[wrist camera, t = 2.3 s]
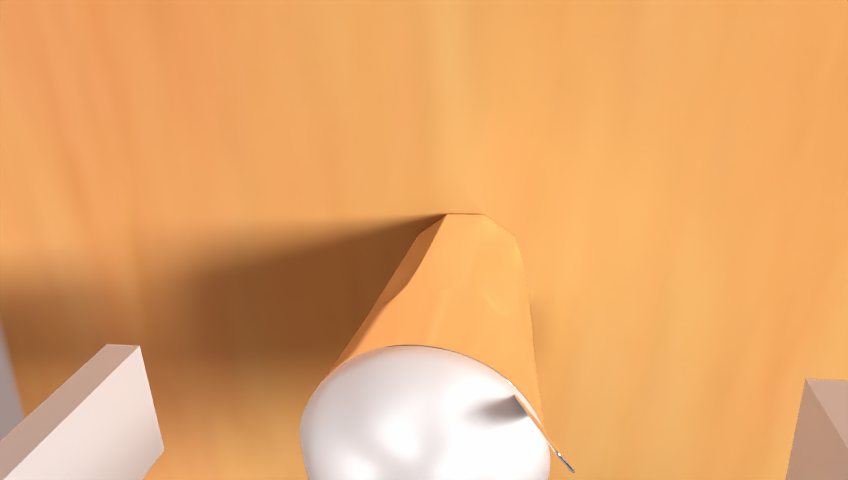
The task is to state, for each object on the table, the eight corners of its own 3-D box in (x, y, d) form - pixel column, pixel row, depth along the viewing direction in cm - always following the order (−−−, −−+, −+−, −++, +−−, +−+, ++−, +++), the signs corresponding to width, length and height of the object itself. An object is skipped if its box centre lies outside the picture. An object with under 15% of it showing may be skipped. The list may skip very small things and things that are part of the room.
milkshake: (605, 267, 19) (657, 568, 10) (454, 356, 21) (385, 674, 12) (507, 139, 18) (468, 347, 9) (358, 246, 20) (205, 503, 11)
